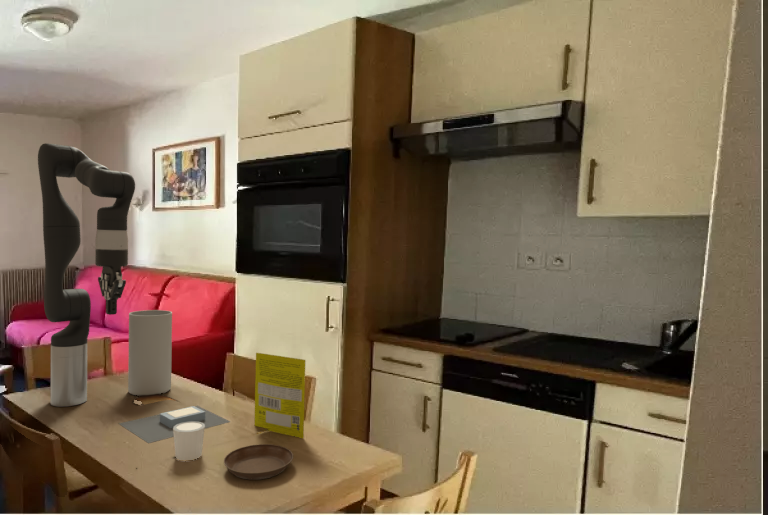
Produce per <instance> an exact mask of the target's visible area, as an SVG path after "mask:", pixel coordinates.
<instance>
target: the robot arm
mask: <svg viewBox="0 0 768 515" xmlns="http://www.w3.org/2000/svg"><path fill="white" fill-rule="evenodd" d="M37 167H38V175H39V180H40V181H39V182H40V190H41V191H40V192H41V197H42V198H41V200H42V233H43V246H44V247H43V248H44V261H45V262H44V270H45V271H44V272H45V273H44V275H45V276H44V291H43V292H44V293H43V294H44V295H43V303H44V304H43V307H44V313H45V316H46V318H47V320H48V321H49V322H51V323H62V322H69V323H68V324H67V326H66V327H63V329H61V330H59V331H58V332H55V333H54V334H52V335H51V337H50V405H51V406H54V407H71V406H72V407H73V406H77V405H81V404H83V403H85V402H87V400H88V337H89V334H90V325H91V322H90V321H91V313H92V312H91V310H92V309H91V306H92V304H91V303H92V302H91V298H90V294H89V292H88V291H87V290H86V289H84V288H69V289H66V288H65V289H64V285H63V284H64V278H65V273H66V271H67V268H68V266H69V265H70V263H71V262H72V260H73V259H74V258H75V255H77V252H78V251H79V248H80V246H81V223H80V220H79V218H78V216H77V214H76V212H75V211H74V209H73V208H72V207H71V206H70V204H69V202H67V201H66V199H65V198H64V197H63V195H62V192H61V190H60V187H59V184H58V179H57V177H58V178H60V177H61V178H69V179H70V178H76V180H77V181H78V182H79V183H80V184H82V185H83V186H84V187H87V188H89V191H90V192H91V194H92V195H94V196H96V197H101V198H107V199H108V198H111V199H115V202H114V203H113V204H112V205H110V206H104V207H103V206H102V207H99V208H98V209H97V212H96V234H95V255H94V256H95V266H96V267H102V270H101V273H100V276H98V277H97V281H98V286H99V288H100V293H101V297H103V298H104V300H105V314H106V315H109V316H112V315H116V314H117V313H118V301H119V299H121V298H122V295H123V293H124V289H125V287H126V285H127V281H126V279H123V273H122V267H127V266H128V265H129V264H128V262H129V237H128V215H129V211H130V206H131V203H132V200H133V197H134V194H135V191H136V181H135V179H134V176H133V175H132V174H131V173H129V172H127V171H121V170H120V171H119V170H110V168H108V167H107V166H105V165H103V164H101V163H99V162H96V161H94V160H92V159H91V158H89V156H88V155H86V153H84V151H82V150H81V149H79V148H77V147H75V146H71V145H70V146H69V145H63V144H55V143H49V142H48V143H47V142H46V143H42V144H41V145H40V146H39V148H38V152H37Z"/></svg>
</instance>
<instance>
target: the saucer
mask: <svg viewBox="0 0 768 515" xmlns="http://www.w3.org/2000/svg"><path fill="white" fill-rule="evenodd" d="M293 459H294V453H293V452H292V450H290V449H289V448H287V447H285V446H282V445H278V444H277V445H276V444H271V443H268V444H267V443H261V444H253V445H245V446H243V447H239V448H236V449H234V450H232V451H230V452H229V453H227V455H225V457H224V458H223V464H224V466H225V468H226V469H227V470H228V471H229V472H230V473H231V474H233V476H234V475H235V477H237V478H240V479H243V480H250V481H251V480H253V481H256V480H257V481H258V480H265V479H270V478H273V477H275V476H278V475H279V474H281V473H282V472H284V471H285V470H286V469H287V468H288V467H289V466H290V464H291V463H292V461H293Z"/></svg>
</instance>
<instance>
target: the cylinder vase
mask: <svg viewBox="0 0 768 515" xmlns="http://www.w3.org/2000/svg"><path fill="white" fill-rule="evenodd" d="M172 331H173V311H170V310H164V309H162V310H161V309H152V310H151V309H145V310H136V311H131V312H129V313H128V362H127V363H128V367H127V368H128V369H127V370H128V371H127V372H128V373H127V375H128V378H127V382H128V383H127V387H128V388H127V390H128V391H127V392H128V393H129V394H130V395H133V396H136V395H137V396H136V397H138V396H141V395H154V394H160V395H162V394H161V393H163V394H165V393H167V392H169V391H170V390H171V388H172V348H173V346H172V344H173V343H172V340H173V334H172V333H173V332H172Z"/></svg>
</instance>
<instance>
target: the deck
mask: <svg viewBox="0 0 768 515" xmlns="http://www.w3.org/2000/svg"><path fill="white" fill-rule="evenodd" d="M195 406H196V405H195ZM195 406H194V405H191V406H187V407H184V408H179V409H174V410H169V411H166V412H165V411H164V412H161V413H160V412H159V414H160V422H161V423H163V424H164V425H166V426H168V427H169V428H173V427H174V426H175V425H177V424H180V423H183V422H191V421H195V422H199V421H203V420H205V411H203V410H201V409H199V408H197V407H195Z"/></svg>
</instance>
